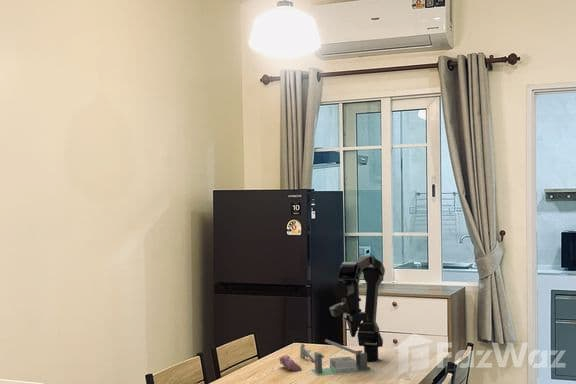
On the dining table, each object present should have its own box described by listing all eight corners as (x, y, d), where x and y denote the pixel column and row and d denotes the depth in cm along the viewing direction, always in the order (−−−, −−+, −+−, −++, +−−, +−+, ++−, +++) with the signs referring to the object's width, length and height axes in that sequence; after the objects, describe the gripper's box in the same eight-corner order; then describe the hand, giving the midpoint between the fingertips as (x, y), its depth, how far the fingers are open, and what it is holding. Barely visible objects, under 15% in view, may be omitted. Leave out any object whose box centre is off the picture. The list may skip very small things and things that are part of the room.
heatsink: (329, 368, 258) (329, 357, 258) (349, 366, 260) (349, 356, 260) (336, 373, 250) (335, 362, 250) (356, 371, 252) (356, 360, 252)
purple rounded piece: (283, 372, 264) (275, 357, 262) (292, 365, 265) (284, 350, 264) (293, 377, 254) (285, 361, 253) (303, 370, 256) (295, 355, 255)
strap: (324, 342, 255) (326, 338, 255) (360, 356, 258) (362, 352, 259) (327, 343, 252) (328, 339, 252) (363, 358, 255) (365, 354, 256)
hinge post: (353, 366, 260) (353, 350, 260) (363, 365, 261) (362, 350, 261) (359, 370, 253) (359, 354, 253) (369, 369, 254) (369, 353, 254)
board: (310, 371, 257) (310, 369, 257) (364, 366, 262) (364, 364, 262) (317, 377, 247) (317, 375, 247) (373, 371, 253) (373, 370, 253)
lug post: (315, 371, 254) (314, 352, 255) (321, 370, 255) (320, 351, 255) (318, 373, 250) (317, 354, 251) (324, 372, 251) (323, 354, 251)
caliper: (300, 358, 282) (299, 343, 282) (302, 357, 282) (302, 342, 282) (320, 368, 263) (319, 351, 263) (322, 367, 263) (322, 351, 263)
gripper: (323, 294, 262) (325, 334, 261) (338, 299, 244) (340, 343, 243) (351, 292, 265) (352, 332, 264) (367, 297, 246) (369, 340, 246)
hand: (353, 336), depth 254 cm, fingers closed
